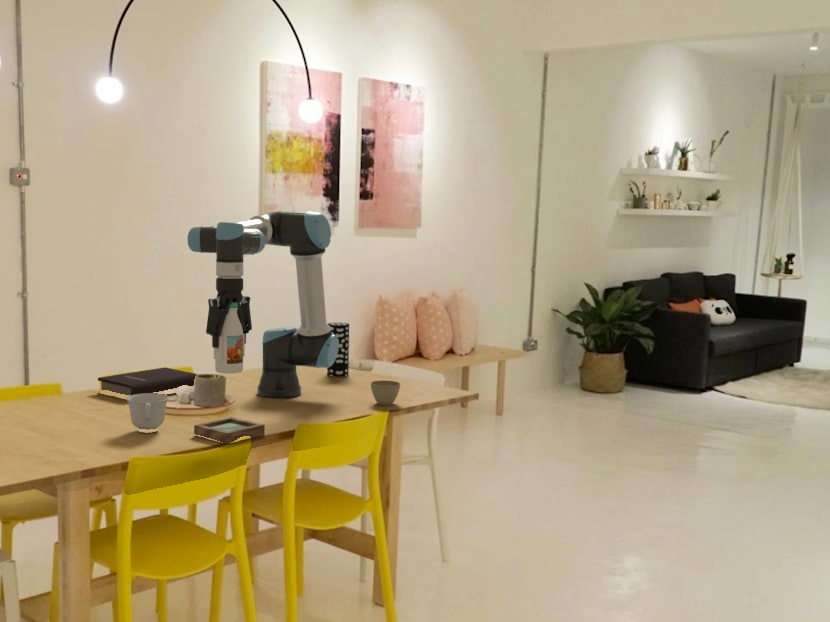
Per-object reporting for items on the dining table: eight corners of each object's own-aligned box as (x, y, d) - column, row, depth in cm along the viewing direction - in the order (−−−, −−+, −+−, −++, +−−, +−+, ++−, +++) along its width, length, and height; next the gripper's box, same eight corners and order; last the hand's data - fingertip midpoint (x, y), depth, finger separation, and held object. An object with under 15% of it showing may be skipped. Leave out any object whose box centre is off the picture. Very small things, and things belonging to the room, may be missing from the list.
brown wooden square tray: (194, 436, 267) (194, 425, 266) (231, 427, 278) (231, 416, 277) (227, 444, 258) (227, 433, 258) (264, 435, 270) (264, 424, 269)
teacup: (125, 439, 261) (125, 404, 260) (126, 427, 275) (126, 393, 274) (170, 437, 264) (170, 403, 263) (168, 425, 278) (168, 392, 277)
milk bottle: (216, 374, 261) (216, 303, 259) (214, 369, 268) (214, 300, 266) (244, 373, 263) (244, 303, 261) (241, 369, 270) (242, 300, 268)
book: (132, 403, 308) (132, 385, 308) (98, 394, 320) (97, 377, 319) (199, 390, 331) (199, 374, 330) (164, 383, 342) (164, 367, 342)
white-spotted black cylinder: (352, 374, 366) (353, 323, 364) (339, 377, 359) (340, 326, 357) (335, 371, 371) (336, 322, 368) (322, 375, 364) (323, 324, 361)
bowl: (396, 407, 310) (396, 386, 309) (367, 405, 312) (367, 384, 311) (402, 401, 320) (403, 381, 319) (374, 399, 321) (374, 379, 321)
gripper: (210, 279, 252) (210, 363, 255) (265, 276, 269) (264, 354, 271) (192, 277, 257) (192, 359, 259) (247, 274, 273) (246, 352, 276)
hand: (229, 357), depth 265 cm, fingers closed on milk bottle, 8 cm apart
